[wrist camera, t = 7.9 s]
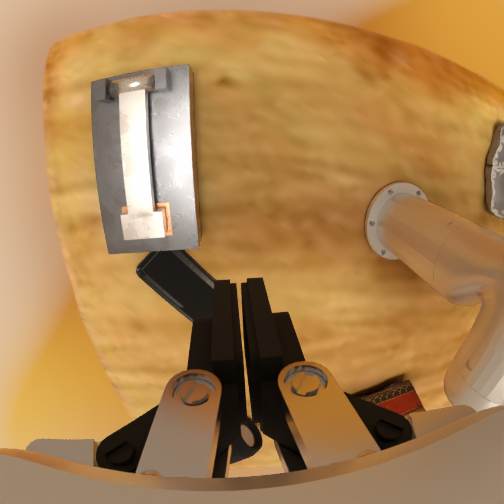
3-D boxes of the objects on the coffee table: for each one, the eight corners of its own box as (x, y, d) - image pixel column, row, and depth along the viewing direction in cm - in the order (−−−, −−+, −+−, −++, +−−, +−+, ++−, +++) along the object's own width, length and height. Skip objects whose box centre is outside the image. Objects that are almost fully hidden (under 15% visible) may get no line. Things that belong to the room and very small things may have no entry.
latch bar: (115, 82, 25) (109, 79, 24) (157, 75, 26) (153, 71, 24) (128, 235, 33) (123, 241, 31) (167, 232, 33) (164, 238, 31)
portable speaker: (234, 407, 55) (237, 445, 46) (262, 423, 58) (267, 458, 49) (159, 439, 59) (156, 471, 50) (187, 453, 63) (186, 483, 54)
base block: (106, 87, 30) (80, 78, 23) (193, 73, 31) (185, 57, 23) (120, 240, 38) (100, 264, 31) (201, 234, 39) (196, 258, 32)
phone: (167, 236, 38) (240, 305, 43) (168, 234, 39) (240, 301, 44) (132, 271, 40) (204, 332, 45) (134, 268, 41) (204, 328, 46)
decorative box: (410, 366, 57) (440, 412, 42) (396, 419, 64) (416, 460, 48) (330, 388, 58) (349, 444, 42) (329, 438, 65) (341, 485, 49)
